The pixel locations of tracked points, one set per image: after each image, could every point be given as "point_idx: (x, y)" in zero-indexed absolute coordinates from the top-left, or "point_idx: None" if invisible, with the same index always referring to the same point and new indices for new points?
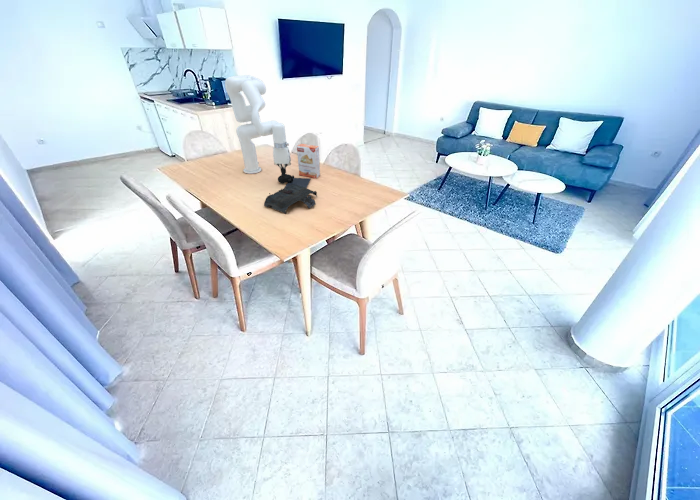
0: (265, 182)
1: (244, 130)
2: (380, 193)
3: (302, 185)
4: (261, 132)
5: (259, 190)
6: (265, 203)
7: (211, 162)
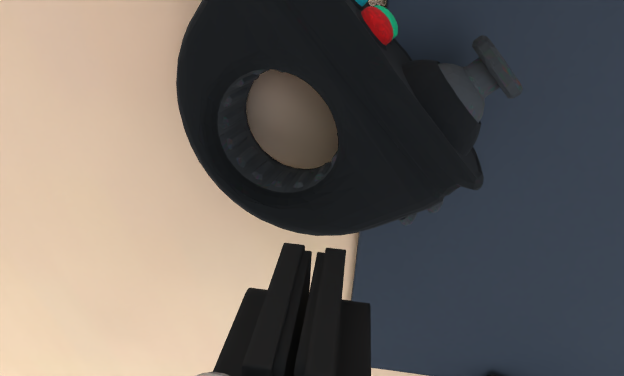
0: (30, 113)
1: None
2: None
3: (618, 261)
4: None
5: (92, 329)
6: None
7: None
